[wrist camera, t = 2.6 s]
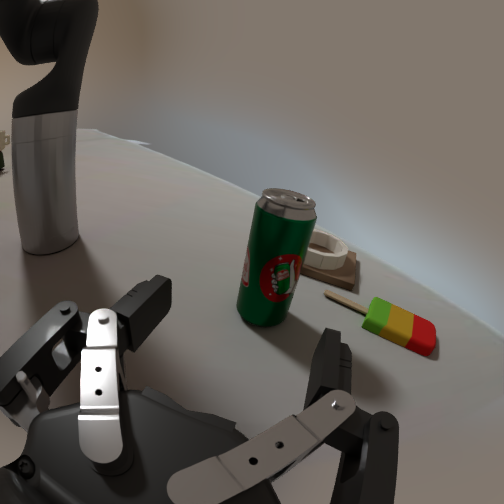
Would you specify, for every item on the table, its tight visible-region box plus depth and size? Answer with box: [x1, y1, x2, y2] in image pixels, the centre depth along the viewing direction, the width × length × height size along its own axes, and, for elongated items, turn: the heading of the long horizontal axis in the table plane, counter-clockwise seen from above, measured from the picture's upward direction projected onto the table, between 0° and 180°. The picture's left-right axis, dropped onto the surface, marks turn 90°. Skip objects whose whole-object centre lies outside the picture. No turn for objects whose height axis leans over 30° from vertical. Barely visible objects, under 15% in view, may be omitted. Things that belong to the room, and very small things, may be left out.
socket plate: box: [301, 229, 356, 291], centre depth 39 cm, size 12×10×3 cm
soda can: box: [237, 188, 317, 327], centre depth 24 cm, size 5×5×12 cm
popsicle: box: [324, 290, 436, 356], centre depth 29 cm, size 6×15×2 cm, turn 57°
